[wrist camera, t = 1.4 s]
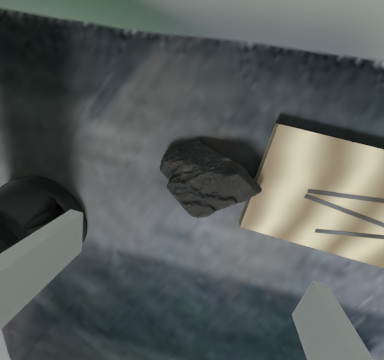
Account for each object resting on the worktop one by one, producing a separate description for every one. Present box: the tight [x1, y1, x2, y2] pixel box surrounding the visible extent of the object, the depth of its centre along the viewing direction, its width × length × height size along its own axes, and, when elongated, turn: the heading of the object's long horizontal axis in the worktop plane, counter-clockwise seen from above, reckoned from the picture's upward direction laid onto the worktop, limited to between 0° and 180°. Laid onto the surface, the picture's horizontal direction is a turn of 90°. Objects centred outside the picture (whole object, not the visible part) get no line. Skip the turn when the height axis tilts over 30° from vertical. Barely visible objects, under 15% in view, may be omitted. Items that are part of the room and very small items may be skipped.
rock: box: [160, 141, 262, 218], centre depth 24 cm, size 10×6×10 cm
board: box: [239, 123, 384, 268], centre depth 24 cm, size 26×14×2 cm, turn 77°
